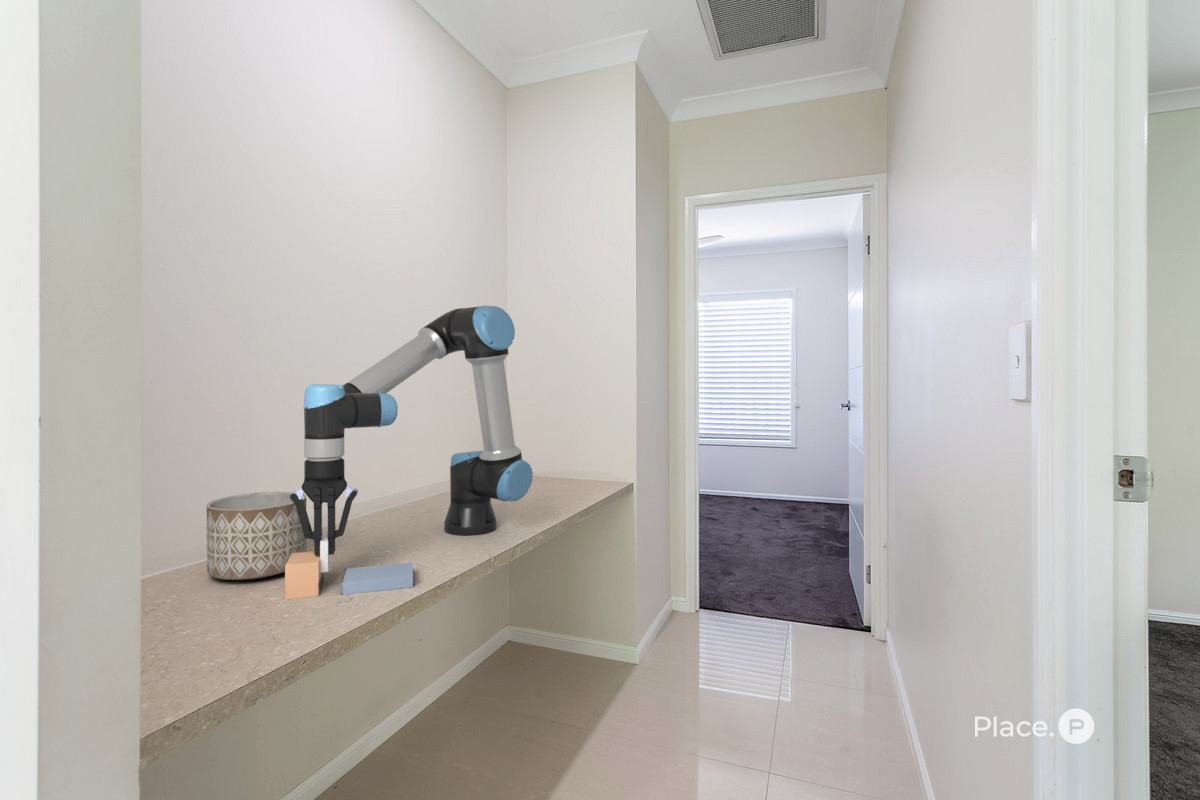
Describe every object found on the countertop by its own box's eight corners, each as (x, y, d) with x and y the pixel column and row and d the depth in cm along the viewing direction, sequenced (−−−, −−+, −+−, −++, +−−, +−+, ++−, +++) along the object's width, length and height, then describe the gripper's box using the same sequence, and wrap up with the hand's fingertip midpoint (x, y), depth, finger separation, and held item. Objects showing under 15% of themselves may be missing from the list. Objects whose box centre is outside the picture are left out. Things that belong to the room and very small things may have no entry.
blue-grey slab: (412, 573, 129) (412, 562, 128) (412, 587, 120) (412, 575, 120) (345, 579, 124) (345, 568, 124) (340, 594, 115) (340, 582, 115)
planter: (302, 553, 142) (302, 488, 141) (310, 576, 126) (310, 503, 125) (209, 566, 131) (208, 496, 131) (205, 593, 115) (204, 513, 115)
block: (323, 582, 122) (323, 550, 122) (318, 596, 115) (318, 562, 114) (292, 585, 120) (292, 553, 120) (285, 599, 113) (285, 564, 112)
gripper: (359, 454, 123) (359, 561, 124) (292, 456, 119) (293, 567, 120) (357, 459, 116) (357, 572, 117) (286, 461, 112) (286, 579, 113)
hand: (324, 570), depth 118 cm, fingers closed
